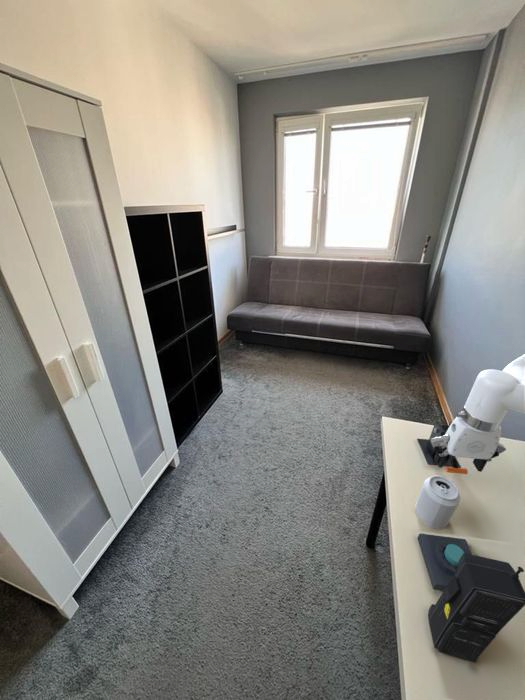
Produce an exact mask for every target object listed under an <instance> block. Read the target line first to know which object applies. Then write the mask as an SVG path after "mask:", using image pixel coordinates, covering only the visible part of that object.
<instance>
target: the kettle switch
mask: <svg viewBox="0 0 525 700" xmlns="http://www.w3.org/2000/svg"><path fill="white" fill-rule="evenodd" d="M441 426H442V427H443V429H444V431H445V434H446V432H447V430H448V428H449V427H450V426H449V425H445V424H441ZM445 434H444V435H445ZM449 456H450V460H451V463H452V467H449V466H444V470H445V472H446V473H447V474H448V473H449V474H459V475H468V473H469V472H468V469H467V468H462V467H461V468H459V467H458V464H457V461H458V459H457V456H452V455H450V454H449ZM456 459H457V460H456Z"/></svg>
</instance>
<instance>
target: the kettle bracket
mask: <svg viewBox="0 0 525 700" xmlns="http://www.w3.org/2000/svg"><path fill="white" fill-rule="evenodd" d="M452 422H453V421H451V422H449V424H448V426H450V425H451V424H452ZM444 434H445V431H444V429H443V427H442V424H441V422H440V421H439V420H436V421H435V422H434V425H433V427H432V430H431V432H430V436H429V438H428V439H427V438H416V440H417V443H418V445H419V447H420V450H421V452H422V455H423V457H424V459H425V461H426V463H427V465H429V466H438V464H437V462H435V460H434V457H435V454H436V451H435V450H434V448H433V445H432V443H431V440H430V439H431V438H435V437H440V436H444ZM441 444H442V443H441ZM439 445H440V444H439ZM446 449H447V448H446V447H445V448H443V451H444V450H446ZM445 457H446V460H445V462H444V464H443V466H442V467H452V463H451V460H450V456H449V454H448V455H446V456H445ZM456 460H457V464H458V468H462V467H461V465H460V463H459V461H458V459H457V458H456Z"/></svg>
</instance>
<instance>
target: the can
mask: <svg viewBox="0 0 525 700" xmlns="http://www.w3.org/2000/svg"><path fill="white" fill-rule="evenodd" d="M460 501H461V495H460V491H459V489H458V487H457V485H456V484H455V483H454V482H453V481H452V480H450V479H449V478H447V477H445V476H442V475H432V476H430V477H427V479H425V480H424V482H423V484H422V487H421V490H420V493H419V494H418V498H417V500H416V503H415V506H414V511H415V514H416V516H417V518H418V520H420V522H422V523H423V524H424V525H425V526H427V527H429V528H431V529H434V530H442V529H443V530H444V529H446V527H447V526H448V525H449V523H450V521H451V519H452V518H453V516H454V514H455V511H456V509H457V508H458V506H459V504H460Z"/></svg>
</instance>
